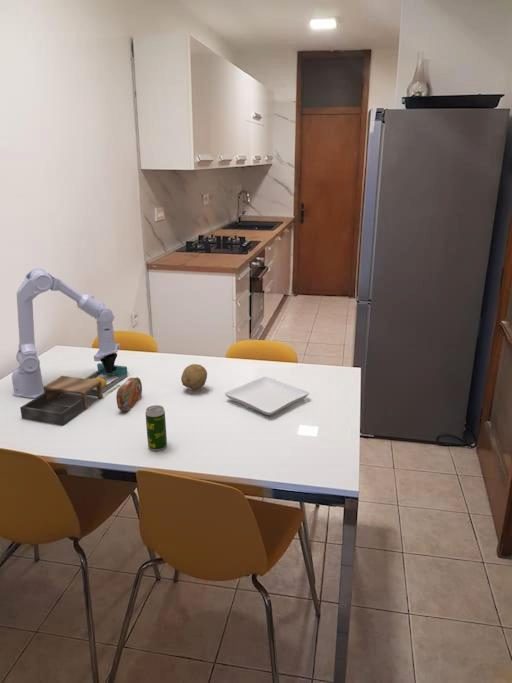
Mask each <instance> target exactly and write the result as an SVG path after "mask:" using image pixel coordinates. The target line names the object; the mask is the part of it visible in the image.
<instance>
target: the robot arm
mask: <svg viewBox="0 0 512 683" xmlns="http://www.w3.org/2000/svg"><path fill="white" fill-rule="evenodd" d="M49 290H51V292H52V291H54V292H58V291H59V292H61V293H62V294H64V295H65V296H66V297H68V298H70V299H72V300H73V301H74V302H76V305H77V308H78V309H80V310H81V311H83V312H84V313H86V314H87V315H88V316H90V317H92V318H94V320H96V332H97V333H96V334H97V340H98V341H97V342H98V351H97V353H96V354H94V355H93V361H94V362H100V363H102V364H103V366H104V368H105V370H106V373H112V372H113V368H114V365H115V362H116V359H117V357H118V351H119V350H120V349H121V344H120V343H115V336H114V335H115V333H114V325H113V321H114V319H115V315H114V313H113V311H112V310H111V309H109V308H108V307H106V305H105V304H104V303H103V302H99V301H98V300H97V299H95V296H94V295H92V294H88V293H85V294H82V293H80V292H79V291H77V290H76V289H74V288H73V287H72V286H70V285H69V284H68V283H66V282H65V281H63V280H62V279H61V278H59V277H57V276H55V275H53V274H52V273H49V272H46V271H45V270H44V269H42V268H34V269H32V270H30V271H28V273H26V274H25V276H24V279H23V281H22V282H21V284H20V285H19V288H18V289H17V291H16V305H17V322H18V341H19V343H18V351H17V352H16V356H15V357H16V358H15V359H16V361H17V362H18V364H19V367H17V368H15V369H14V370H13V371H12V374H11V382H12V386H13V393H12V396H16V397H21V396H22V397H23V398H29V399H35V398H37V397H38V396H40V395H42V394H43V393H44V389H43V387H44V384H43V383H44V382H43V376H42V370H41V366H40V364H41V361H40V359H39V357H38V355H37V348H36V343H35V342H36V341H35V340H36V339H35V326H34V325H35V323H34V304H33V300H34V299H35V298H36V297H38V296H39V295H40V294H43V293H45V292H48V291H49Z"/></svg>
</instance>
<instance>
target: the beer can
mask: <svg viewBox="0 0 512 683" xmlns="http://www.w3.org/2000/svg"><path fill="white" fill-rule="evenodd" d="M144 413H145V425H146V426H145V427H146V435H147V436H146V437H147V447H148V448H149V450H150V451H151V452H152V451H153V452H159V451H163V450H165V449H166V448H167V445H168V438H167V424H166V412H165V408H164V406H163V405H156V404H154V405H151V406H148V407H147V408H145V412H144Z"/></svg>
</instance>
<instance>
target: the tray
mask: <svg viewBox="0 0 512 683" xmlns="http://www.w3.org/2000/svg"><path fill="white" fill-rule="evenodd" d="M96 386H97V395H96V396H97V399H98V400H102V399H104V398H106V397H107V396H108V395H110V394H111V393H112V392H114V391H115V390H117V389H118V388H120V387H121V384H116V385H114V387H111V389H108V390H107V391H106V392H104V394H103V393H102V385H101V381H97V380H89V379H85V378H82V377H81V378H80V377H74V376H73V377H72V376H67V375H61V376H60V377H58V378H56V379H54V380H53V381H50V382H49V383H47V384H45V385H43V389H44V393H43V394H41V395H40V396H38V397H36V398H32V400H30V401H29V402H27V403H25V404H23V405H22V406H20V408H19V409H20V414H21V415H20V416H21V419H22V420H28V421H33V422H39V423H45V424H50V425H51V424H52V425H56V426H57V425H58V426H65V425H66V424H68V423H69V422H71V421H72V420H73V419H75V418H76V417H77V416H79V415H80V414H82V413H83V412H84V411H86V410H88V401H87V400H88V398H87V394H86V393H87V392H89V391H90V390H92V389H93V388H95V387H96ZM117 387H118V388H117ZM116 388H117V389H116ZM113 390H114V391H113ZM64 393H65V394H66V393H68V394H75V395H80V399H79V400H78V401H76V402H75V403H73V404H72V405H70V406H65V405H57V404H54V403H53V404H51V403H52V402H54V401H55V400H56V399H58V398H59V396H60V397H61V395H62V396H63V395H65V394H64ZM109 393H110V394H109ZM53 400H54V401H53Z"/></svg>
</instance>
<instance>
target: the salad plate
mask: <svg viewBox="0 0 512 683" xmlns="http://www.w3.org/2000/svg"><path fill="white" fill-rule="evenodd" d="M309 394H310V392H309V391H306V390H304V389H301V388H299V387H297V386H294V385H291V384H288V383H286V382H282V381H279V380H276V379H275V378H272V377H268V376H263V377H260V378H257V379H255V380H252V381H250V382H248V383H247V382H246V383H245V384H243V385H241V386H237V387H236V388H233V389H230V390H228V391H226V392H224V396H225V397H227V398H229V400H231V401H234V402H236V403H238V404H241V405H243V406H246V407H248V408H250V409H252V410H254V411H257V412H259V413H262V414H264V415H266V416H271V415H274V414H276V413H277V412H279V411H282V410H283V409H285V408H287V407H289V406H291V405H292V404H295V403H297V402H299V401H302V400H303V399H305V398H307V397H308V395H309Z"/></svg>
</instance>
